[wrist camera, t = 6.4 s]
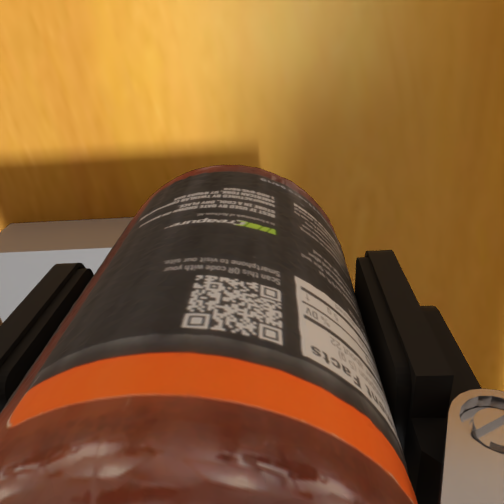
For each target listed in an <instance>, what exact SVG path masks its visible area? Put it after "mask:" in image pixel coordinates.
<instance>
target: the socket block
mask: <svg viewBox="0 0 504 504" xmlns="http://www.w3.org/2000/svg"><path fill="white" fill-rule="evenodd" d="M133 218H134V217H128V218H108V219H88V220H69V221H49V222H30V223H11V224H9V225H8V226H7V227H6V228H5V229H3V230H2V231H1V232H0V318H1V320H2V323H3V322H4V321H5V320H6V319H7V318H8V317H9V315H10V314H11V313H12V312H13V311H14V310H15V309H16V308H17V306H18V305H19V304H20V303H21V302H22V301H23V300H24V299H25V297H26V296H27V295H28V294H29V293H30V292H31V291H32V290H33V288H34V287H35V286H36V285H37V284H38V283H39V282H40V281H41V279H42V278H43V277H44V276H45V275H46V274H47V273H48V272H49V270H50V269H51V268H52V267H53V266H54V265H55V264H62V263H82V264H83V265H84V266H85V268H89V269H91V270H92V272H93V274H95V273H96V271H97V270H98V268H99V267H100V265H101V264H102V263H103V261H104V259H105V258H106V256H107V255H108V253H109V252H110V250H111V249H112V247H113V246H114V244H115V243H116V242H117V240H118V238H119V237H120V236H121V234H122V233H123V231H124V230H125V228H126V227H127V226H128V224H129V222H130V221H131V220H132V219H133Z"/></svg>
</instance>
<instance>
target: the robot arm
mask: <svg viewBox="0 0 504 504" xmlns="http://www.w3.org/2000/svg"><path fill="white" fill-rule="evenodd" d="M93 276H94V274H93V272H92V270H91V269H89V268H85V266H84V265H83V264H82V263H62V264H55V265H54V266H53V267H52V268H51V269H50V270H49V272H48V273H47V274H46V275H45V276H44V277H43V278H42V279H41V281H40V282H39V283H38V284H37V285H36V286H35V287H34V288H33V290H32V291H31V292H30V293H29V294H28V295H27V296H26V297H25V299H24V300H23V301H22V302H21V303H20V304H19V305H18V306H17V308H16V309H15V310H14V311H13V312H12V313H11V314H10V315H9V317H8V318H7V319H6V320H5V321H4V322H3V323H2V324H1V326H0V413H1V411H2V410H3V408H4V406H5V405H6V403H7V402H8V400H9V398H10V397H11V395H12V394H13V392H14V391H15V390H16V389H17V387H18V386H19V385H20V383H21V381H22V380H23V378H24V377H25V375H26V373H27V372H28V370H29V369H30V368H31V366H32V365H33V364H34V362H35V361H36V359H37V358H38V356H39V355H40V354H41V353H42V351H43V350H44V348H45V346H46V345H47V343H48V342H49V340H50V339H51V337H52V336H53V334H54V333H55V332H56V330H57V329H58V327H59V325H60V324H61V322H62V321H63V320H64V318H65V317H66V315H67V314H68V313H69V311H70V309H71V307H72V306H73V304H74V303H75V302H76V301H77V299H78V298H79V296H80V295H81V293H82V292H83V290H84V289H85V287H86V286H87V284H88V283H89V282H90V280H91V279H92V277H93ZM355 296H356V299H357V302H358V305H359V309H360V312H361V316H362V320H363V323H364V326H365V329H366V333H367V336H368V339H369V342H370V345H371V349H372V353H373V356H374V359H375V363H376V366H377V369H378V373H379V376H380V379H381V383H382V386H383V389H384V392H385V396H386V399H387V402H388V405H389V408H390V412H391V415H392V418H393V421H394V425H395V428H396V432H397V435H398V438H399V441H400V444H401V447H402V450H403V454H404V457H405V461H406V465H407V471H408V476H409V479H410V482H411V484H412V487H413V490H414V492H415V495H416V499H417V502H418V504H504V392H502V391H499V390H491V389H482V388H481V387H480V385H479V383H478V381H477V379H476V378H475V376H474V374H473V372H472V370H471V368H470V367H469V365H468V363H467V361H466V359H465V358H464V356H463V354H462V352H461V350H460V348H459V347H458V345H457V343H456V341H455V339H454V337H453V336H452V334H451V332H450V330H449V328H448V327H447V325H446V323H445V321H444V319H443V317H442V316H441V314H440V312H439V310H438V309H437V308H436V307H435V306H420V305H419V303H418V301H417V299H416V297H415V295H414V293H413V291H412V289H411V287H410V285H409V283H408V281H407V279H406V277H405V275H404V273H403V271H402V269H401V267H400V265H399V263H398V261H397V259H396V257H395V255H394V252H393V251H392V250H380V251H366V253H365V257H362V258H357V260H356V278H355Z"/></svg>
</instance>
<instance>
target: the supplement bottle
mask: <svg viewBox="0 0 504 504" xmlns="http://www.w3.org/2000/svg"><path fill="white" fill-rule="evenodd" d="M0 504H418V502H417V499H416V495H415V492H414V490H413V487H412V484H411V482H410V479H409V476H408V471H407V465H406V461H405V457H404V454H403V450H402V447H401V444H400V441H399V438H398V435H397V432H396V428H395V425H394V421H393V418H392V415H391V412H390V408H389V405H388V402H387V399H386V396H385V392H384V389H383V386H382V383H381V379H380V376H379V373H378V369H377V366H376V363H375V359H374V356H373V353H372V349H371V345H370V342H369V339H368V336H367V333H366V329H365V326H364V323H363V320H362V316H361V312H360V309H359V305H358V302H357V299H356V296H355V293H354V289H353V286H352V283H351V278H350V276H349V272H348V269H347V266H346V263H345V258H344V255H343V251H342V248H341V245H340V243H339V241H338V239H337V237H336V234H335V232H334V229H333V227H332V225H331V223H330V221H329V219H328V217H327V215H326V214H325V213H324V211H323V210H322V209H321V207H320V206H319V205H318V204H317V203H316V202H315V201H314V199H313V198H312V197H310V196H309V195H308V194H307V193H306V192H305V191H304V190H303V189H301V188H300V187H299V186H297V185H296V184H295V183H293V182H292V181H290V180H288V179H286V178H283V177H280V176H278V175H276V174H274V173H271V172H268V171H265V170H262V169H260V168H256V167H248V166H243V165H216V166H210V167H203V168H199V169H195V170H193V171H190V172H187V173H185V174H183V175H181V176H179V177H177V178H175V179H173V180H172V181H170V182H168V183H167V184H165V185H164V186H162V187H161V188H160V189H159V190H157V191H156V192H155V193H154V194H153V195H152V196H151V197H150V198H149V199H148V200H147V201H146V202H145V203H144V205H143V206H142V207H141V208H140V210H139V211H138V213H137V214H136V215H135V217H134V218H133V219H132V220H131V221H130V222H129V224H128V226H127V227H126V228H125V230H124V231H123V233H122V234H121V236H120V237H119V238H118V240H117V242H116V243H115V244H114V246H113V247H112V249H111V250H110V252H109V253H108V255H107V256H106V258H105V259H104V261H103V263H102V264H101V265H100V267H99V268H98V270H97V271H96V273H95V274H94V276H93V277H92V279H91V280H90V282H89V283H88V284H87V286H86V287H85V289H84V290H83V292H82V293H81V295H80V296H79V298H78V299H77V301H76V302H75V303H74V304H73V306H72V307H71V309H70V311H69V313H68V314H67V315H66V317H65V318H64V320H63V321H62V322H61V324H60V325H59V327H58V329H57V330H56V332H55V333H54V334H53V336H52V337H51V339H50V340H49V342H48V343H47V345H46V346H45V348H44V350H43V351H42V353H41V354H40V355H39V356H38V358H37V359H36V361H35V362H34V364H33V365H32V366H31V368H30V369H29V370H28V372H27V373H26V375H25V377H24V378H23V380H22V381H21V383H20V385H19V386H18V387H17V389H16V390H15V391H14V392H13V394H12V395H11V397H10V398H9V400H8V402H7V403H6V405H5V406H4V408H3V410H2V411H1V413H0Z"/></svg>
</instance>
